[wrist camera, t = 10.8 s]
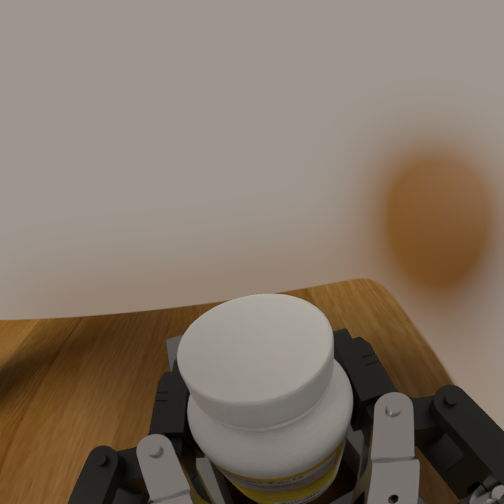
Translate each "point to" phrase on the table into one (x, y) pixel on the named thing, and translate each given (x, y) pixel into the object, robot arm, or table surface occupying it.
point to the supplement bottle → (267, 396)
